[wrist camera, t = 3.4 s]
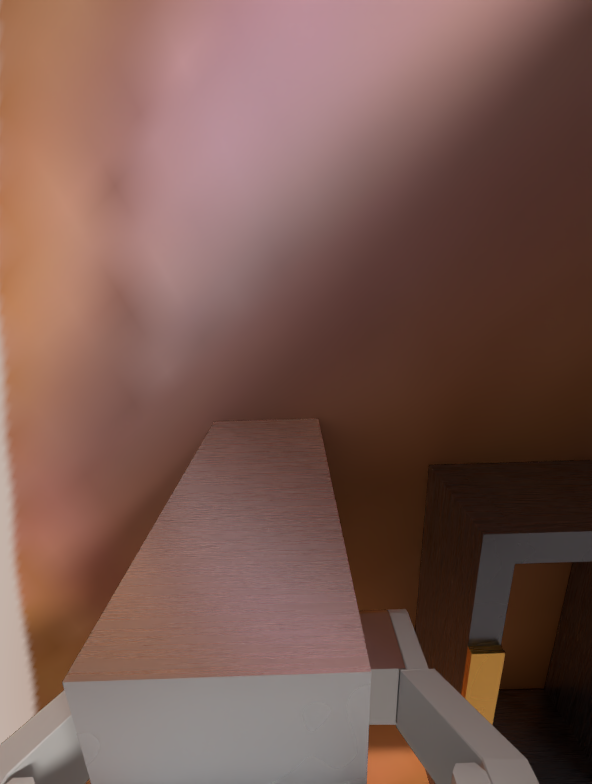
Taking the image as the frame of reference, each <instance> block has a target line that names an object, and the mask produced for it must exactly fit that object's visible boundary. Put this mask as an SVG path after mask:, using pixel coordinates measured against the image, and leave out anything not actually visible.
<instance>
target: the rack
mask: <svg viewBox="0 0 592 784" xmlns="http://www.w3.org/2000/svg"><path fill="white" fill-rule="evenodd" d="M556 562H573V565H572V570H571V574H570V579H569V583H568V587H567V592H566V596H565V600H564V605H563V609H562V614H561V618H560V622H559V627H558V631H557V635H556V640H555V644H554V649H553V653H552V657H551V662H550V666H549V671H548V675H547V679H546V684H545V688H544V689H534V690H503V691H499V686H500V680H501V674H502V669H503V663H504V658H505V652H504V650H503V648H502V647H501V641H502V635H503V629H504V624H505V618H506V612H507V606H508V601H509V595H510V589H511V583H512V578H513V572H514V566H515V564H523V563H556ZM415 633H416V635H417V638H418V641H419V644H420V646H421V649H422V652H423V655H424V657H425V660H426V663H427V666H428V668H429V669H435V670H436V671H437V672H438V673H439V674H440V675H441V676H442V677H443V678H444V679H445V680H446V681H448V682H449V683H450V684H451V685H452V686H453V687H454V688H455V689H456V690H457V691H458V692H459V693H460V694H461V695H462V696H463V697H464V698H465V699H466V700H467V701H468V702H469V703H470V704H471V705H472V706H473V707H474V708H475V709H476V710H477V711H478V712H479V713H480V714H481V715H482V716H483V717H484V718H485V719H486V720H487V721H488V722H490V723H491V724H492V725H493V726H494V727H495V728H496V729H497V730H498V731H499V732H500V733H501V734H502V735H503V736H504V737H505V738H506V739H507V740H508V741H509V742H510V743H511V744H512V745H513V746H514V747H515V748H516V749H517V750H518V751H519V752H520V753H521V754H522V755H523V756H524V757H525V758H526V759H527V760H528V762H529V764H530V766H531V768H532V770H533V772H534V774H535V776H536V778H537V780H538V782H539V784H592V460H577V461H544V462H511V463H477V464H444V465H429V471H428V483H427V495H426V507H425V519H424V530H423V542H422V554H421V566H420V578H419V590H418V601H417V613H416V625H415ZM425 770H426V769H425ZM426 773H427V777H428V781H429V784H436V783H435V782H434V780H433V779H432V778H431V776H430V775H429V773H428V772H427V770H426Z"/></svg>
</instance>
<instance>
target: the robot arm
mask: <svg viewBox="0 0 592 784" xmlns="http://www.w3.org/2000/svg"><path fill="white" fill-rule="evenodd" d="M359 616H360V620H361V625H362V630H363V635H364V639H365V644H366V649H367V654H368V658H369V663H370V668H371V691H370V715H369V725H396V727H397V729H398V730H399V732H400V733H401V734H402V736H403V737H404V739H405V740H406V742H407V743H408V745H409V746H410V747H411V749H412V750H413V752H414V753H415V755H416V756H417V757H418V759H419V760H420V762H421V763H422V765H423V766H424V768H425V769H426V770H427V772H428V773H429V775H430V776H431V778H432V779H433V780H434V782H435V783H436V784H539V782H538V780H537V778H536V776H535V774H534V772H533V770H532V768H531V766H530V764H529V762H528V760H527V759H526V758H525V757H524V756H523V755H522V754H521V753H520V752H519V751H518V750H517V749H516V748H515V747H514V746H513V745H512V744H511V743H510V742H509V741H508V740H507V739H506V738H505V737H504V736H503V735H502V734H501V733H500V732H499V731H498V730H497V729H496V728H495V727H494V726H493V725H492V724H491V723H490V722H488V721H487V720H486V719H485V718H484V717H483V716H482V715H481V714H480V713H479V712H478V711H477V710H476V709H475V708H474V707H473V706H472V705H471V704H470V703H469V702H468V701H467V700H466V699H465V698H464V697H463V696H462V695H461V694H460V693H459V692H458V691H457V690H456V689H455V688H454V687H453V686H452V685H451V684H450V683H449V682H448V681H446V680H445V679H444V678H443V677H442V676H441V675H440V674H439V673H438V672H437V671H436V670H435V669H429V668H428V666H427V663H426V660H425V657H424V655H423V652H422V649H421V646H420V644H419V641H418V638H417V635H416V633H415V630H414V627H413V625H412V622H411V619H410V616H409V614H408V612H407V610H406V609H390V610H386V609H384V610H362V611H359ZM88 779H89V774H88V771H87V767H86V764H85V760H84V757H83V753H82V750H81V746H80V743H79V739H78V736H77V732H76V729H75V725H74V722H73V718H72V715H71V711H70V708H69V704H68V701H67V697H66V694H65V690H64V691H62V692H61V693H60V694H59V695H58V696H57V697H55V698H54V699H53V700H52V701H51V702H50V703H48V704H47V705H46V706H45V707H44V708H43V709H41V710H40V711H39V712H38V713H37V714H36V715H34V716H33V717H32V718H31V719H30V720H29V721H27V722H26V723H25V724H24V725H23V726H22V727H20V728H19V729H18V730H17V731H16V732H15V733H13V734H12V735H11V736H10V737H9V738H8V739H6V740H5V741H4V742H3V743H2V744H1V745H0V784H85V783H86V782H87V781H88Z"/></svg>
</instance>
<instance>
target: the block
mask: <svg viewBox="0 0 592 784" xmlns="http://www.w3.org/2000/svg"><path fill="white" fill-rule="evenodd" d="M62 683H63V687H64V690H65V694H66V697H67V701H68V704H69V708H70V711H71V715H72V718H73V722H74V725H75V729H76V732H77V736H78V739H79V743H80V746H81V750H82V753H83V757H84V760H85V764H86V767H87V771H88V774H89V778H90V781H91V784H367V762H368V738H369V715H370V691H371V668H370V663H369V658H368V654H367V649H366V644H365V639H364V635H363V630H362V625H361V620H360V616H359V611H358V606H357V601H356V596H355V592H354V587H353V582H352V577H351V573H350V568H349V563H348V558H347V553H346V549H345V544H344V539H343V534H342V530H341V525H340V520H339V515H338V511H337V506H336V501H335V496H334V491H333V487H332V482H331V477H330V472H329V468H328V463H327V458H326V453H325V448H324V444H323V439H322V434H321V429H320V425H319V420H318V418H314V419H281V420H247V421H214V423H213V425H212V426H211V428H210V430H209V432H208V433H207V435H206V437H205V438H204V440H203V442H202V444H201V445H200V447H199V449H198V450H197V452H196V454H195V456H194V457H193V459H192V461H191V462H190V464H189V466H188V468H187V469H186V471H185V473H184V474H183V476H182V478H181V480H180V481H179V483H178V485H177V486H176V488H175V490H174V492H173V493H172V495H171V497H170V498H169V500H168V502H167V504H166V505H165V507H164V509H163V510H162V512H161V514H160V516H159V517H158V519H157V521H156V522H155V524H154V526H153V528H152V529H151V531H150V533H149V534H148V536H147V538H146V540H145V541H144V543H143V545H142V546H141V548H140V550H139V552H138V553H137V555H136V557H135V558H134V560H133V562H132V564H131V565H130V567H129V569H128V570H127V572H126V574H125V576H124V577H123V579H122V581H121V582H120V584H119V586H118V588H117V589H116V591H115V593H114V594H113V596H112V598H111V600H110V601H109V603H108V605H107V606H106V608H105V610H104V612H103V613H102V615H101V617H100V618H99V620H98V622H97V624H96V625H95V627H94V629H93V630H92V632H91V634H90V636H89V637H88V639H87V641H86V642H85V644H84V646H83V648H82V649H81V651H80V653H79V654H78V656H77V658H76V660H75V661H74V663H73V665H72V666H71V668H70V670H69V672H68V673H67V675H66V677H65V678H64V680H63V682H62Z"/></svg>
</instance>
